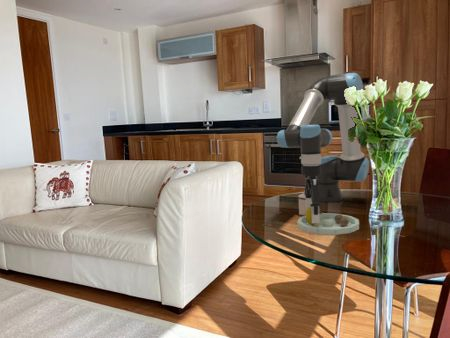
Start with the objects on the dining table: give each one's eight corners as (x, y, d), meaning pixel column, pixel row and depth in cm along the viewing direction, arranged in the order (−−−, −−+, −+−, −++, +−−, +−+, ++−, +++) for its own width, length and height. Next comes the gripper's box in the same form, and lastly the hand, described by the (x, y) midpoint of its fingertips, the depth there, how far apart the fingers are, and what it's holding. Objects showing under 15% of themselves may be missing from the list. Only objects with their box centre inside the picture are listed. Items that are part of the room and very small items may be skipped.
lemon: (305, 227, 141) (305, 207, 140) (305, 223, 147) (305, 204, 146) (320, 228, 140) (320, 207, 139) (319, 224, 146) (319, 204, 145)
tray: (319, 217, 159) (319, 209, 159) (370, 226, 142) (370, 217, 142) (286, 229, 144) (286, 220, 144) (338, 241, 127) (338, 231, 126)
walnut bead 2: (342, 224, 143) (342, 215, 143) (350, 225, 141) (350, 217, 140) (337, 226, 141) (337, 217, 141) (345, 228, 138) (345, 219, 138)
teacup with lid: (318, 218, 158) (317, 192, 156) (297, 217, 161) (296, 191, 160) (320, 211, 169) (320, 187, 167) (301, 211, 172) (300, 186, 171)
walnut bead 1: (337, 221, 148) (337, 213, 148) (345, 222, 145) (345, 214, 145) (333, 223, 146) (332, 214, 145) (340, 224, 143) (340, 216, 143)
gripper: (296, 161, 153) (298, 210, 155) (306, 169, 128) (308, 227, 131) (314, 160, 152) (316, 210, 155) (328, 168, 128) (329, 226, 130)
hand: (312, 218), depth 143 cm, fingers open, 13 cm apart
